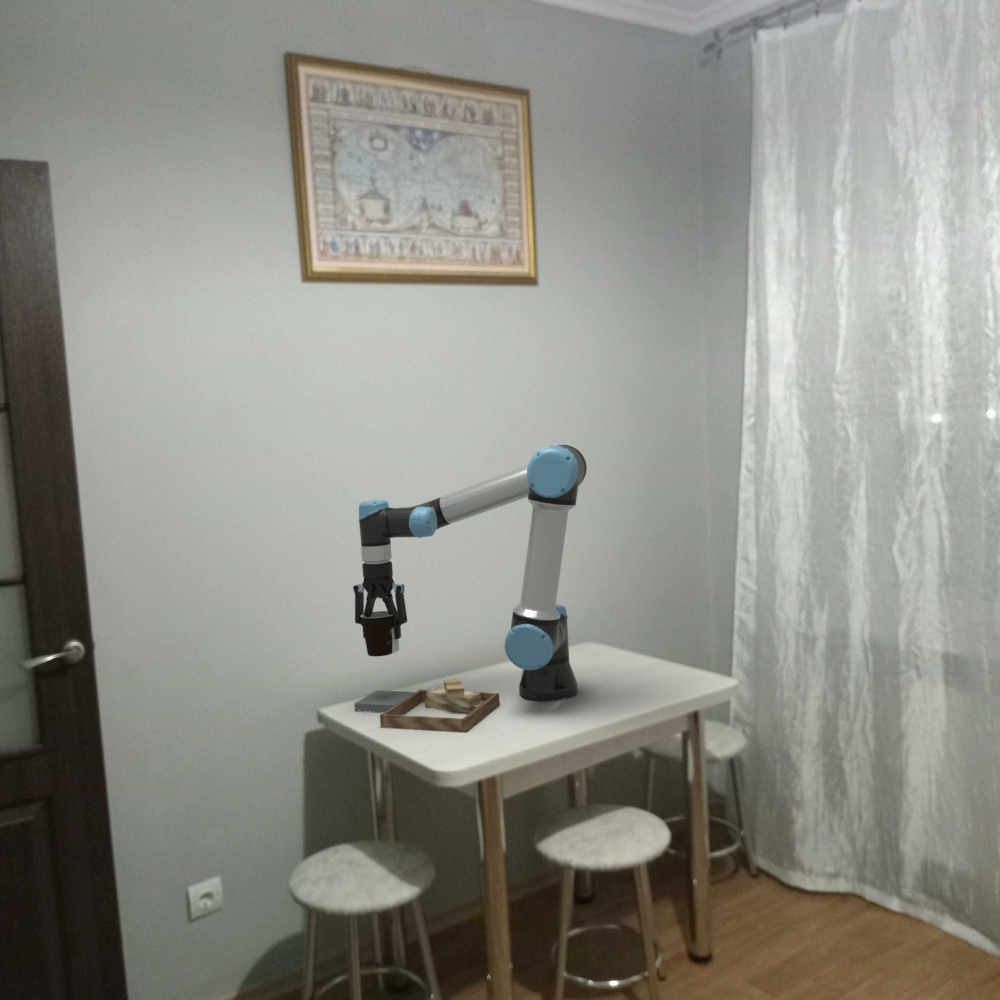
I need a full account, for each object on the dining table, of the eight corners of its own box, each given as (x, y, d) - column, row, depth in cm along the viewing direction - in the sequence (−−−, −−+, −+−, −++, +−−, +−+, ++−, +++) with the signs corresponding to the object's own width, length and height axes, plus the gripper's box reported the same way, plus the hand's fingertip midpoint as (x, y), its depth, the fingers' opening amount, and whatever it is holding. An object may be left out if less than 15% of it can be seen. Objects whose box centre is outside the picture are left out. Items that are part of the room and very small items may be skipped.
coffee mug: (382, 658, 244) (380, 618, 243) (356, 656, 248) (353, 617, 248) (411, 648, 253) (408, 609, 253) (385, 645, 258) (382, 608, 257)
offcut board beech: (464, 696, 241) (464, 688, 241) (448, 697, 240) (447, 689, 240) (459, 686, 251) (459, 678, 251) (444, 687, 250) (443, 679, 250)
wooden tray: (499, 704, 246) (499, 693, 246) (466, 732, 226) (465, 719, 226) (420, 700, 254) (419, 689, 254) (380, 727, 234) (379, 714, 233)
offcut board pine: (481, 703, 243) (480, 693, 242) (469, 707, 239) (468, 698, 239) (439, 695, 251) (438, 686, 251) (426, 700, 248) (426, 691, 248)
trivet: (418, 699, 256) (417, 692, 255) (397, 713, 244) (397, 705, 244) (377, 697, 260) (376, 690, 260) (355, 711, 249) (354, 703, 248)
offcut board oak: (488, 711, 244) (488, 701, 244) (479, 716, 240) (478, 706, 240) (435, 705, 252) (434, 695, 252) (425, 709, 248) (424, 700, 248)
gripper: (417, 559, 249) (423, 648, 251) (350, 559, 256) (356, 646, 258) (404, 563, 242) (410, 655, 244) (336, 563, 249) (342, 653, 251)
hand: (383, 650), depth 251 cm, fingers closed on coffee mug, 6 cm apart
